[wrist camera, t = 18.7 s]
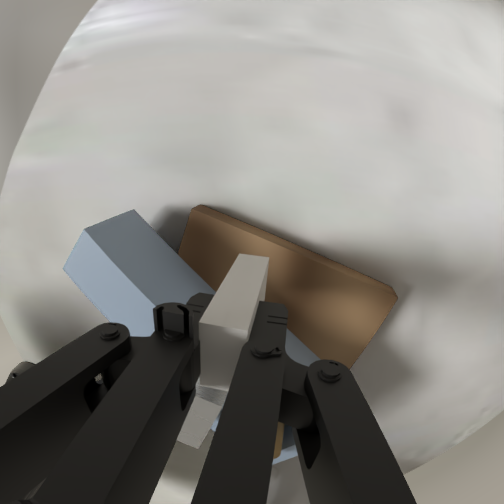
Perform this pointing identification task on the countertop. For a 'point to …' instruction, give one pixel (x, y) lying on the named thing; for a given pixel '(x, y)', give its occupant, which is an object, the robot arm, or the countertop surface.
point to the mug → (287, 483)
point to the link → (147, 284)
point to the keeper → (201, 415)
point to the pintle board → (293, 286)
